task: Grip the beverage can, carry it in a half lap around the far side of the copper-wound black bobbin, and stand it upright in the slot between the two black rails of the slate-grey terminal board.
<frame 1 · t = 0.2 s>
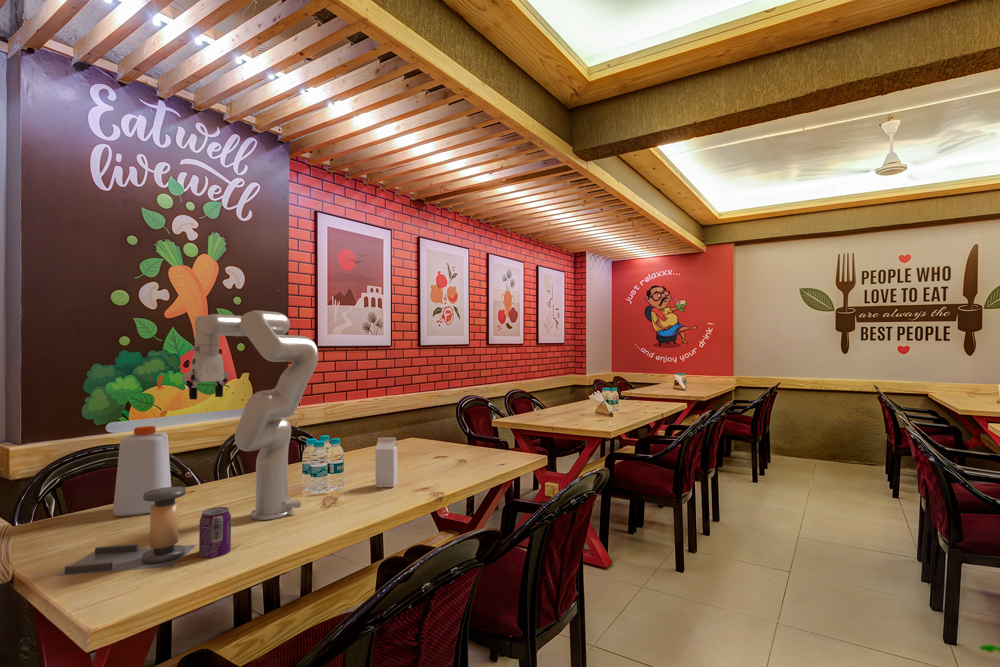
hand: (206, 398, 177), 37 cm above the table, tool pointing down, fingers open, 9 cm apart
bobbin: (164, 556, 126), resting on terminal board
milk carton: (386, 486, 196), on the table
beverage can: (215, 558, 128), on the table
plastic bottle: (143, 509, 170), on the table
terminal board: (131, 563, 125), on the table
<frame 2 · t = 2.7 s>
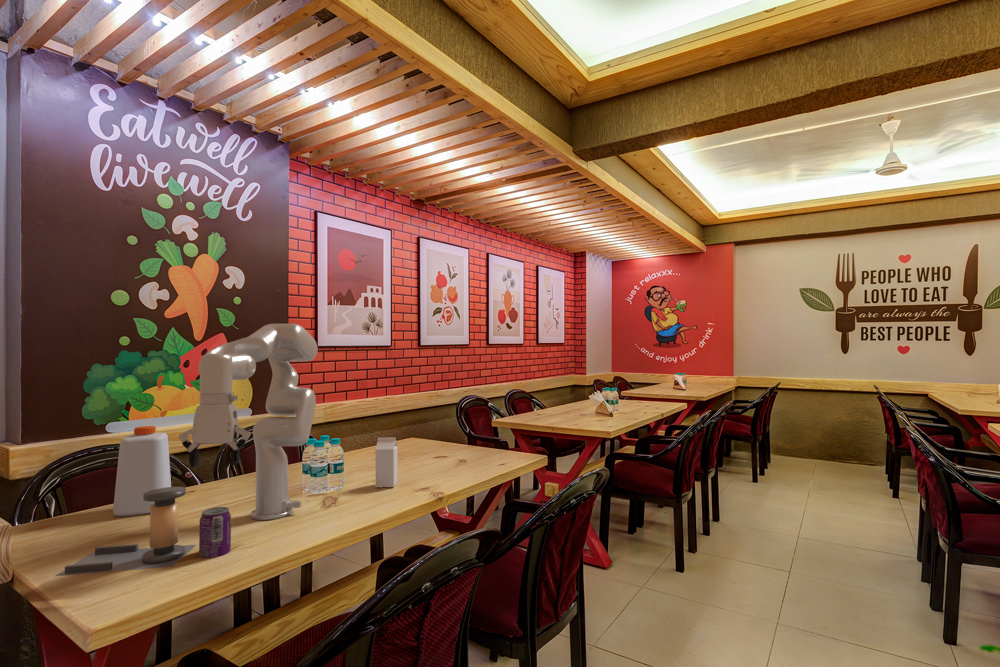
hand: (214, 465, 131), 23 cm above the table, tool pointing down, fingers open, 9 cm apart
nothing on the table moved.
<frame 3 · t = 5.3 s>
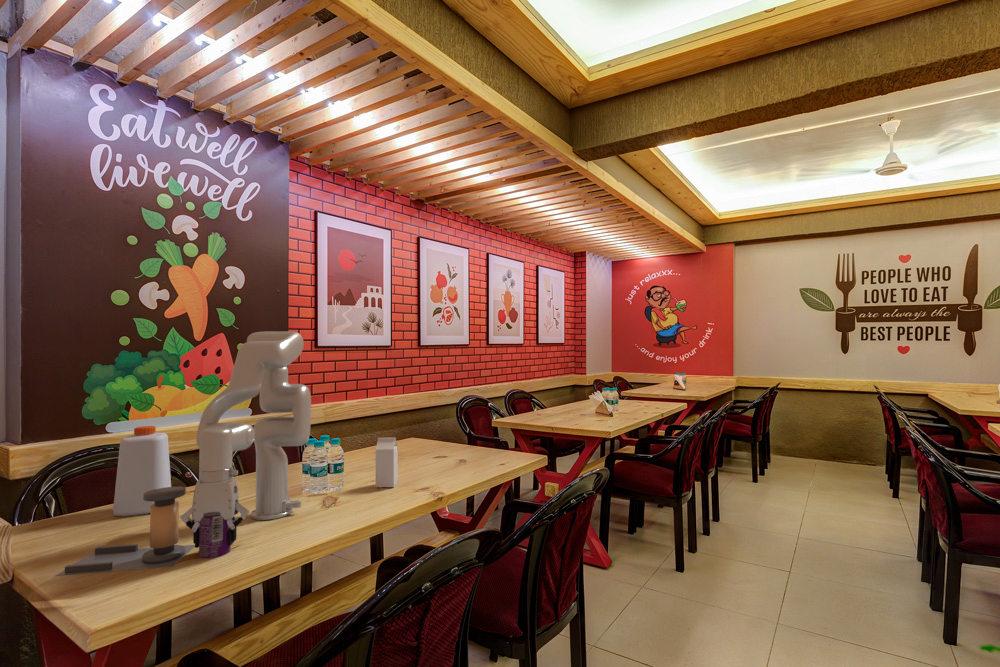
hand: (215, 544, 129), 3 cm above the table, tool pointing down, fingers closed on beverage can, 7 cm apart
beverage can: (214, 558, 128), on the table, touching gripper
everything else where it was.
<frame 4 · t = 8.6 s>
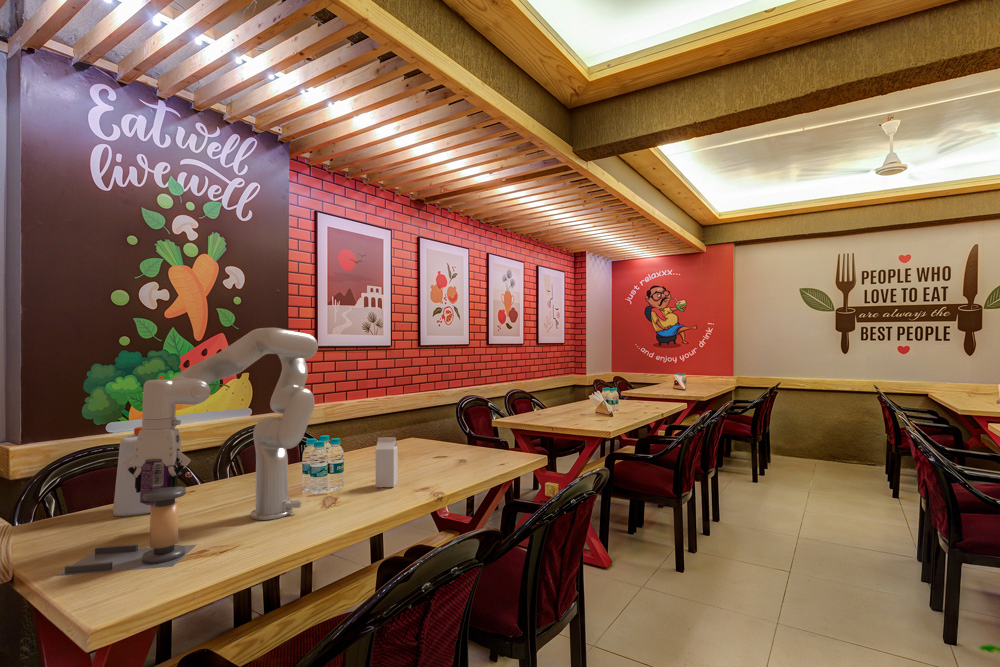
hand: (156, 490, 135), 16 cm above the table, tool pointing down, fingers closed on beverage can, 7 cm apart
beverage can: (155, 503, 135), point 12 cm above the table, touching gripper
everything else where it was.
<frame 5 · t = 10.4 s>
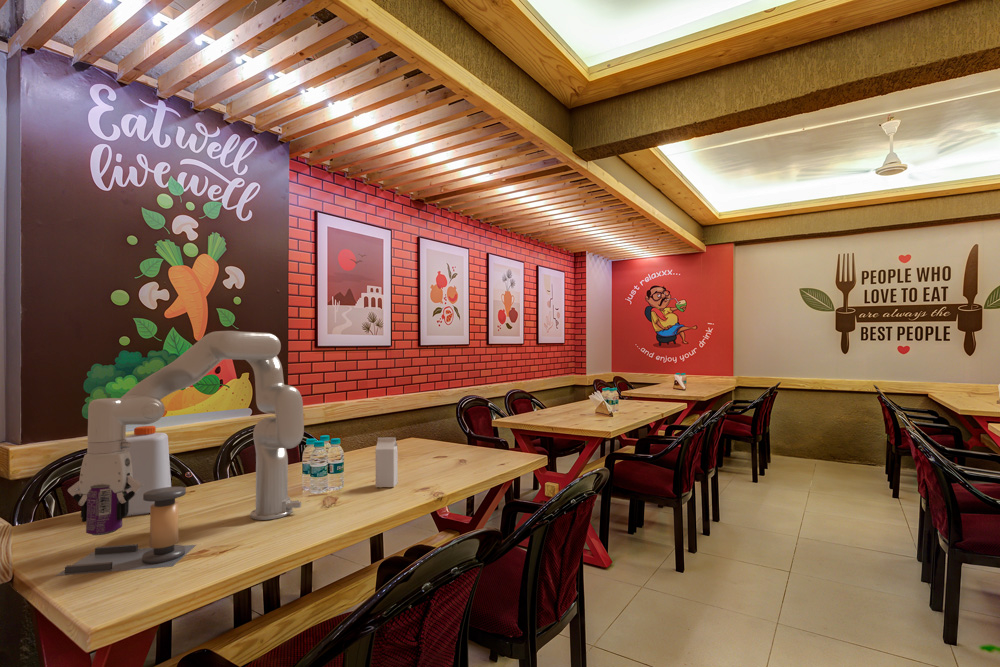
hand: (104, 518, 124), 12 cm above the table, tool pointing down, fingers closed on beverage can, 7 cm apart
beverage can: (104, 532, 124), point 8 cm above the table, touching gripper
everything else where it was.
when the fingers open (6 cm above the table, at t = 11.8 s): beverage can drops 2 cm, resting on terminal board.
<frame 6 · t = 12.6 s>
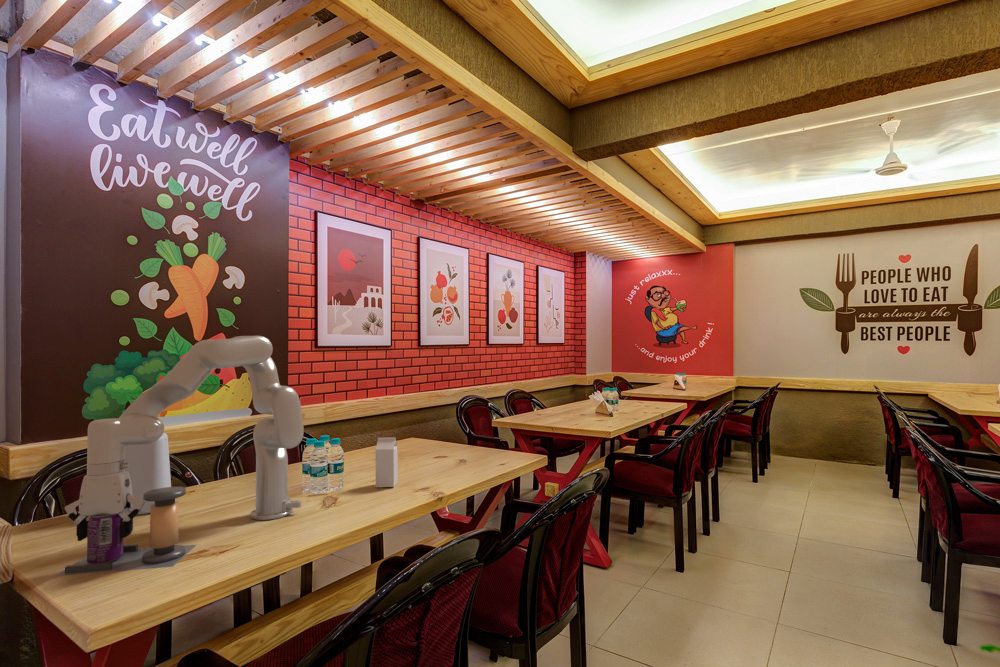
hand: (104, 537, 124), 7 cm above the table, tool pointing down, fingers open, 9 cm apart
beverage can: (105, 561, 124), point 1 cm above the table, touching terminal board
everything else where it was.
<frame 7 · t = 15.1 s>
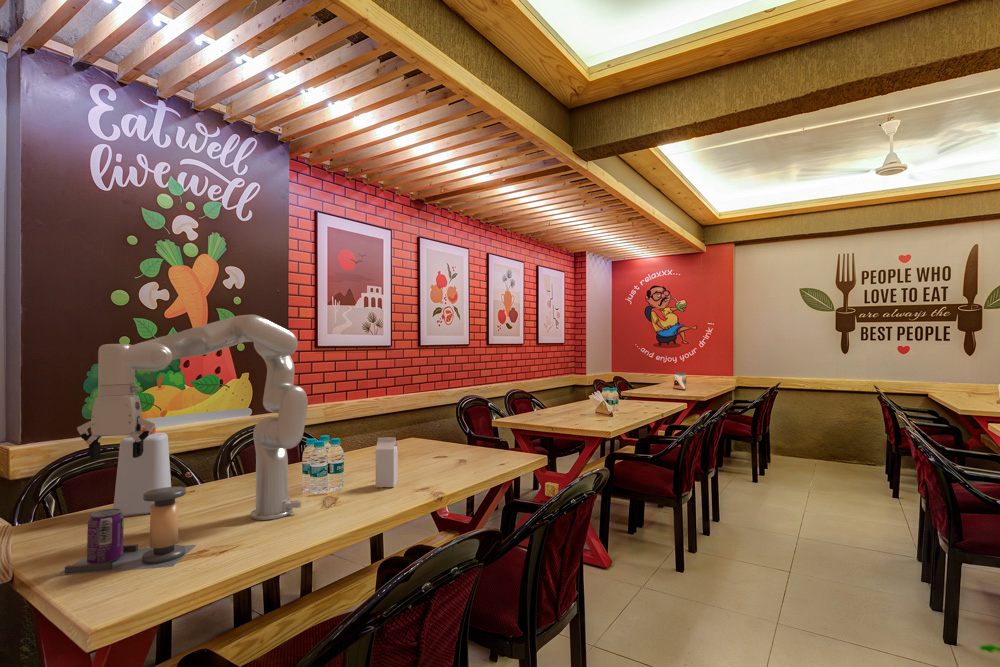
hand: (116, 457, 128), 26 cm above the table, tool pointing down, fingers open, 9 cm apart
nothing on the table moved.
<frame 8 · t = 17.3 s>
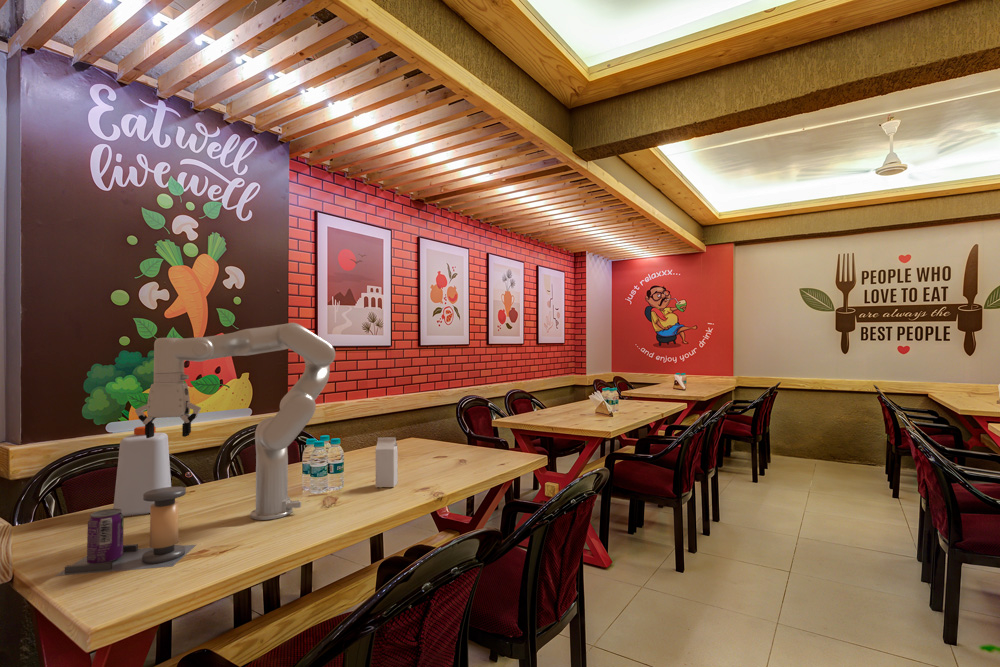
hand: (168, 436, 147), 28 cm above the table, tool pointing down, fingers open, 9 cm apart
nothing on the table moved.
at the end: beverage can 0.1 cm from the target spot on the terminal board, point 1.0 cm above the terminal board's base; beverage can tilted 0°; the gripper is holding nothing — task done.
